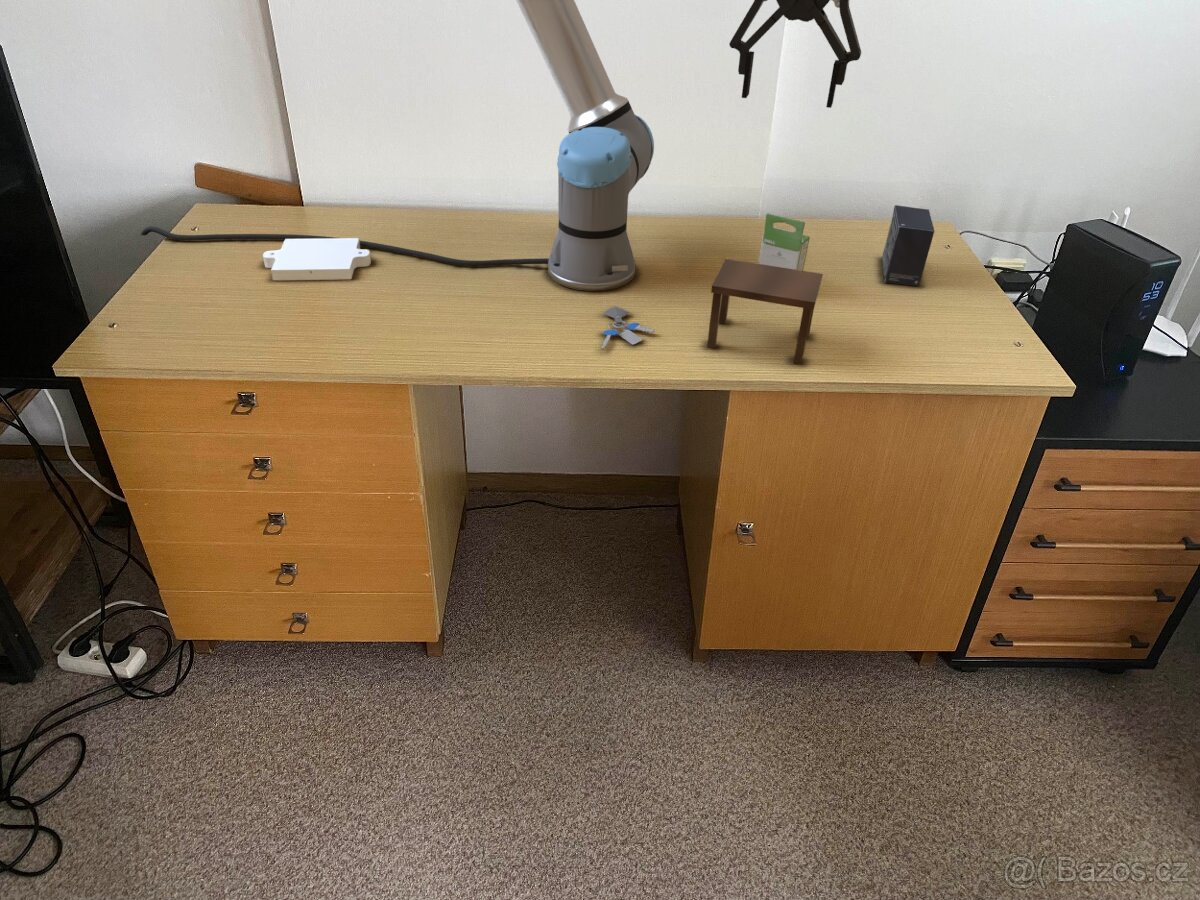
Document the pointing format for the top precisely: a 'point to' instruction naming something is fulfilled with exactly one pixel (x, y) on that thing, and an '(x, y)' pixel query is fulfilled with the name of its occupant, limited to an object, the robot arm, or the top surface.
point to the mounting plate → (316, 259)
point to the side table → (764, 294)
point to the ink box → (783, 244)
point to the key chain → (626, 334)
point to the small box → (907, 245)
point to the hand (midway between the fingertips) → (786, 100)
